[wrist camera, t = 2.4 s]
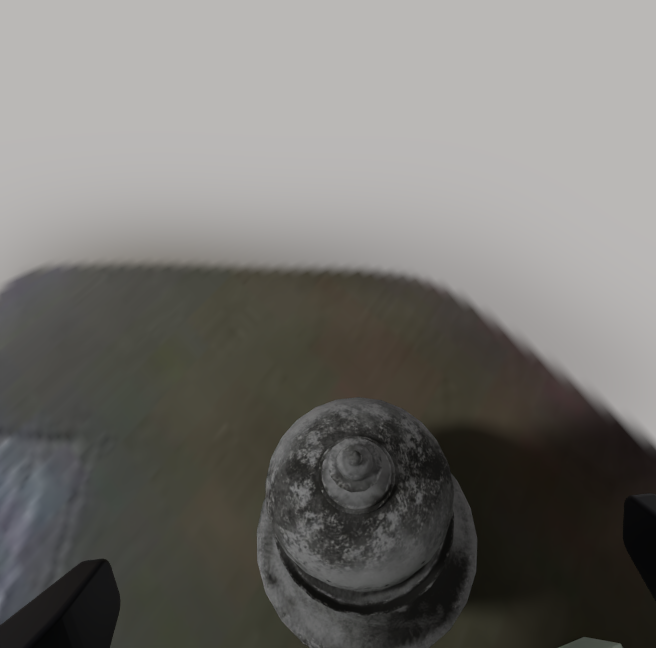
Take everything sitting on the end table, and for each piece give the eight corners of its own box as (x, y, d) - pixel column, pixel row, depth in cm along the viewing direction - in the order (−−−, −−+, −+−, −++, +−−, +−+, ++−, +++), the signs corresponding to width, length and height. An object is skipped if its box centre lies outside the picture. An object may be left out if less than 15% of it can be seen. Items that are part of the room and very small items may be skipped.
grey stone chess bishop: (285, 454, 18) (164, 259, 8) (450, 458, 18) (563, 253, 7) (270, 647, 15) (44, 755, 5) (465, 658, 15) (690, 807, 4)
